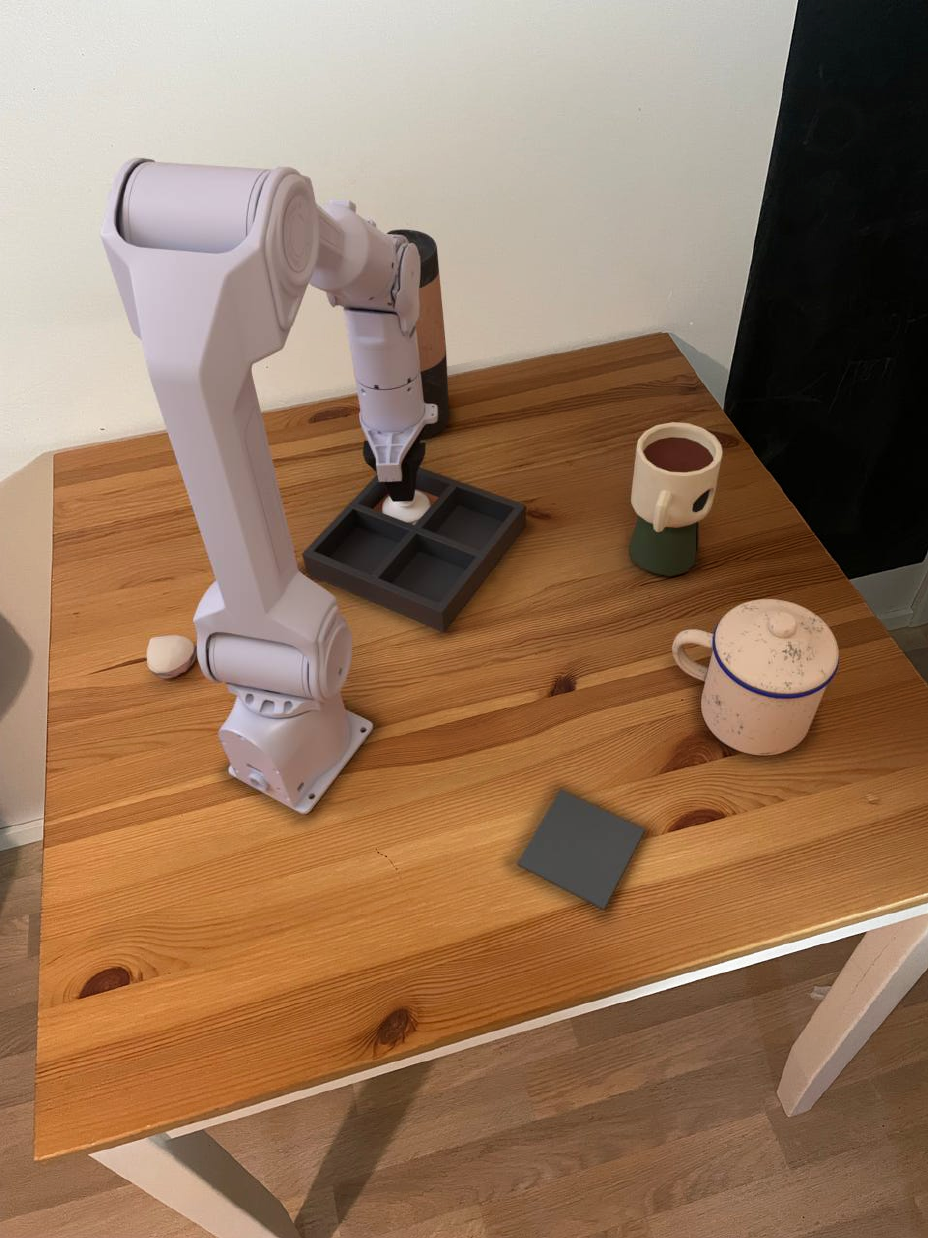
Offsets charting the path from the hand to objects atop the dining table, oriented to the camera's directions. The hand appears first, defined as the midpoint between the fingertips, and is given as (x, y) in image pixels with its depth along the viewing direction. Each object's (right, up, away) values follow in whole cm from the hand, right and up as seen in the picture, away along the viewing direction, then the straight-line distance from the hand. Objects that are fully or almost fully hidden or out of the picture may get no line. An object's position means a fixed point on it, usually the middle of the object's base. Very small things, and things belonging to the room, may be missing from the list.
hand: (403, 489), depth 90 cm
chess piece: (0, -2, +2) cm, 3 cm away
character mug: (+25, -7, -3) cm, 26 cm away
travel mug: (+1, +9, +13) cm, 16 cm away
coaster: (+15, -30, -22) cm, 40 cm away
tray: (+1, -6, -1) cm, 6 cm away
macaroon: (-20, -17, -8) cm, 27 cm away
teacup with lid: (+28, -20, -14) cm, 37 cm away
